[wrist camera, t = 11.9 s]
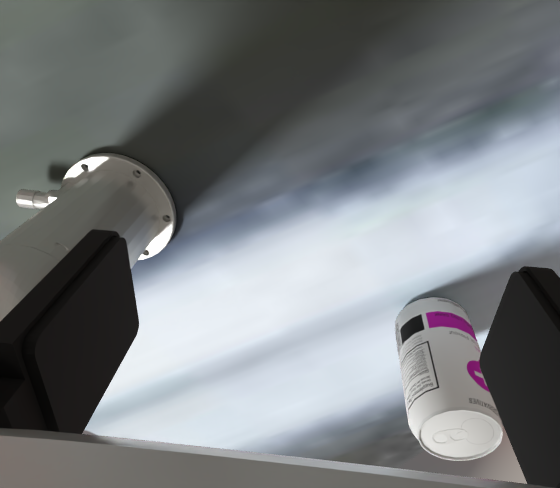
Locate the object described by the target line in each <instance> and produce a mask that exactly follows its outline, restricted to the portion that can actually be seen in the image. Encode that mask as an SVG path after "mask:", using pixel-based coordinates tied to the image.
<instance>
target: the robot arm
mask: <svg viewBox="0 0 560 488" xmlns="http://www.w3.org/2000/svg"><path fill="white" fill-rule="evenodd" d="M139 171H140V172H139ZM16 201H17V204H18V206H20V207H23V208H31V209H42V210H40V211H39V212H38V213H36V214H35V215H34V216H32V217H31V218H30V219H28V220H27V221H26V222H25V223H23V224H22V225H21V226H19V227H18V228H17V229H15V230H14V231H13V232H11V233H10V234H9V235H7V236H6V237H5V238H3V239H2V240H1V241H0V488H560V278H559V277H558V275H557V274H556V273H555V272H554V271H553V270H552V269H548V268H537V267H526V266H525V267H522V268H521V269H520V270H519V272H513V273H512V274H511V276H510V279H509V281H508V284H507V286H506V289H505V292H504V294H503V297H502V299H501V302H500V305H499V307H498V310H497V312H496V315H495V318H494V320H493V323H492V325H491V328H490V331H489V333H488V336H487V339H486V341H485V344H484V346H483V349H482V352H481V354H480V360H479V363H480V369H481V372H482V374H483V377H484V379H485V382H486V384H487V387H488V389H489V391H490V394H491V396H492V399H493V401H494V404H495V406H496V409H497V411H498V413H499V416H500V418H501V421H502V423H503V426H504V428H505V430H506V433H507V435H508V438H509V440H510V443H511V445H512V447H513V450H514V452H515V455H516V457H517V460H518V462H519V464H520V467H521V469H522V471H523V474H524V476H525V479H526V481H527V484H522V483H514V482H505V481H497V480H489V479H481V478H471V477H464V476H456V475H446V474H439V473H430V472H421V471H413V470H404V469H397V468H388V467H379V466H371V465H362V464H353V463H344V462H336V461H327V460H318V459H309V458H300V457H291V456H283V455H274V454H265V453H256V452H247V451H238V450H229V449H220V448H210V447H201V446H192V445H183V444H173V443H164V442H155V441H145V440H136V439H127V438H117V437H108V436H97V435H85V434H82V433H83V431H84V429H85V427H86V426H87V424H88V422H89V420H90V418H91V417H92V415H93V413H94V411H95V409H96V407H97V406H98V404H99V402H100V400H101V398H102V397H103V395H104V393H105V391H106V389H107V388H108V386H109V384H110V382H111V380H112V379H113V377H114V375H115V373H116V371H117V369H118V368H119V366H120V364H121V362H122V360H123V359H124V357H125V355H126V353H127V351H128V350H129V348H130V346H131V344H132V342H133V341H134V339H135V337H136V335H137V332H138V327H139V319H138V313H137V306H136V300H135V293H134V287H133V280H132V274H131V269H132V267H133V266H134V265H135V263H136V262H137V260H143V259H146V258H149V257H152V256H154V255H156V254H157V253H159V252H160V251H161V250H162V249H164V248H165V247H166V245H167V244H168V242H169V241H170V240H171V238H172V236H173V234H174V231H175V227H176V209H175V205H174V201H173V199H172V197H171V194H170V192H169V191H168V189H167V188H166V186H165V184H164V183H163V182H162V181H161V180H160V178H159V177H158V176H157V175H156V174H155V173H154V172H152V171H151V170H150V169H149V168H148V167H146V166H145V165H143V164H141V163H140V162H138V161H136V160H134V159H132V158H129V157H127V156H124V155H119V154H114V153H99V154H93V155H90V156H87V157H85V158H83V159H81V160H80V161H78V162H77V163H75V164H74V165H73V166H72V167H71V168H70V169H69V170H68V171H67V173H66V175H65V176H64V178H63V181H62V184H61V189H59V190H50V191H48V193H45V192H40V191H34V190H26V189H21V190H19V191H18V193H17V196H16Z"/></svg>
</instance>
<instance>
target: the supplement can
mask: <svg viewBox="0 0 560 488" xmlns="http://www.w3.org/2000/svg"><path fill="white" fill-rule="evenodd" d="M395 334H396V341H397V348H398V355H399V362H400V369H401V376H402V382H403V389H404V396H405V403H406V410H407V417H408V424H409V427H410V428H411V430H412V432H413V434H414V435H415V437H416V438H417V439H418V440H419V442H420V444H421V446H422V448H424V449H425V450H426V451H427V452H429V453H430V454H432V455H434V456H437V457H439V458H442V459H448V460H455V461H459V460H472V459H476V458H479V457H483V456H485V455H487V454H489V453H490V452H492V451H494V450H495V449H496V448H497V446H498V445H499V444H500V443H501V440H502V436H503V433H502V429H503V423H502V421H501V418H500V416H499V413H498V411H497V409H496V406H495V404H494V401H493V399H492V396H491V394H490V391H489V389H488V387H487V384H486V382H485V379H484V377H483V374H482V372H481V369H480V363H479V360H480V354H481V350H480V348H479V345H478V342H477V340H476V337H475V334H474V331H473V329H472V326H471V323H470V321H469V318H468V315H467V312H466V311H465V310H464V309H463V308H462V307H461V306H460V305H459V304H458V303H456V302H453V301H451V300H449V299H445V298H437V297H431V298H424V299H419V300H417V301H415V302H412V303H410V304H408V305H407V306H406V307H405V308H404V309H403V310H401V311H400V312H399V314H398V316H397V318H396V320H395Z"/></svg>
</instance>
